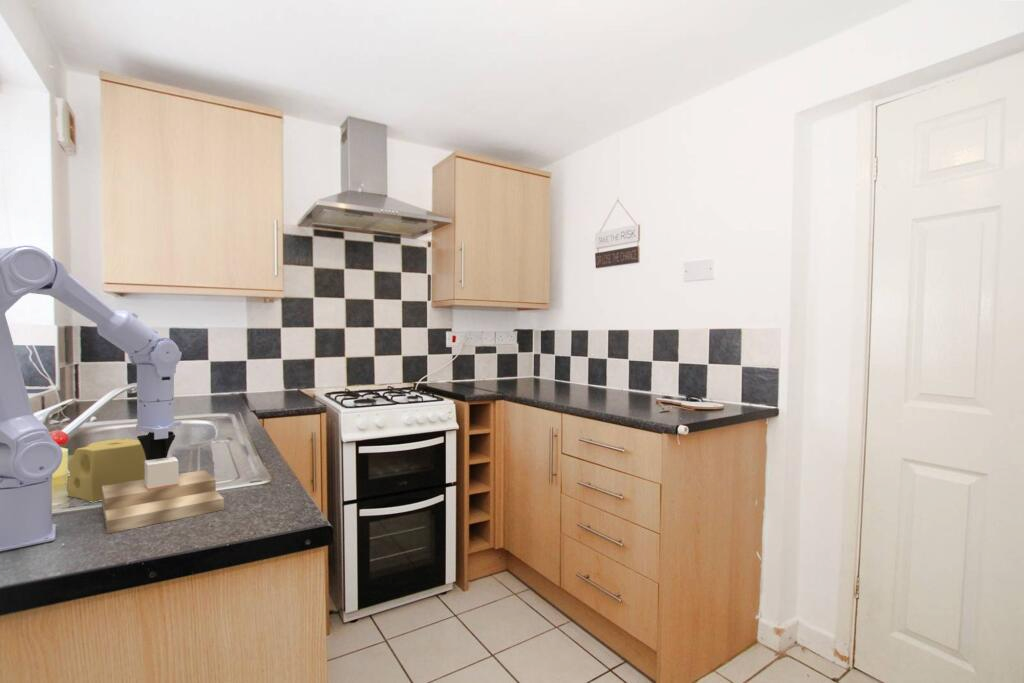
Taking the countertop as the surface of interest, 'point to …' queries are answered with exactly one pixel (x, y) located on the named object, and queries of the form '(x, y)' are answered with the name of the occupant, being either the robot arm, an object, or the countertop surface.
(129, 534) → the countertop surface
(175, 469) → the white cube
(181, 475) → the step
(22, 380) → the robot arm
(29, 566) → the countertop surface
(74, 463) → the cheese
